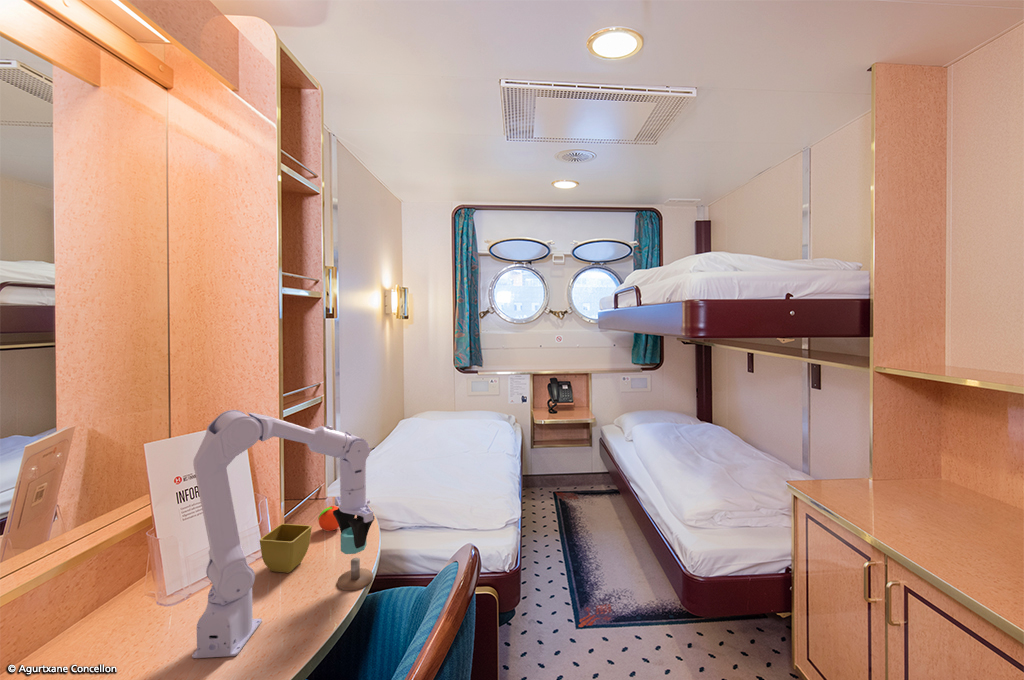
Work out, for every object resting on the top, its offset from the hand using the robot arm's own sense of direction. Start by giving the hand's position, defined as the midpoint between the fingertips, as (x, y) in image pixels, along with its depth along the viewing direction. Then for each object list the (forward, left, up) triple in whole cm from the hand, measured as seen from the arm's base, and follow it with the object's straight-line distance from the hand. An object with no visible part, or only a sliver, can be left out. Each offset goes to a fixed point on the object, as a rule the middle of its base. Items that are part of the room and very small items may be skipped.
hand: (353, 542), depth 100 cm
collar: (0, 0, -1) cm, 1 cm away
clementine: (+26, +15, -10) cm, 32 cm away
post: (0, 0, -10) cm, 10 cm away
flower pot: (+7, +19, -10) cm, 22 cm away
